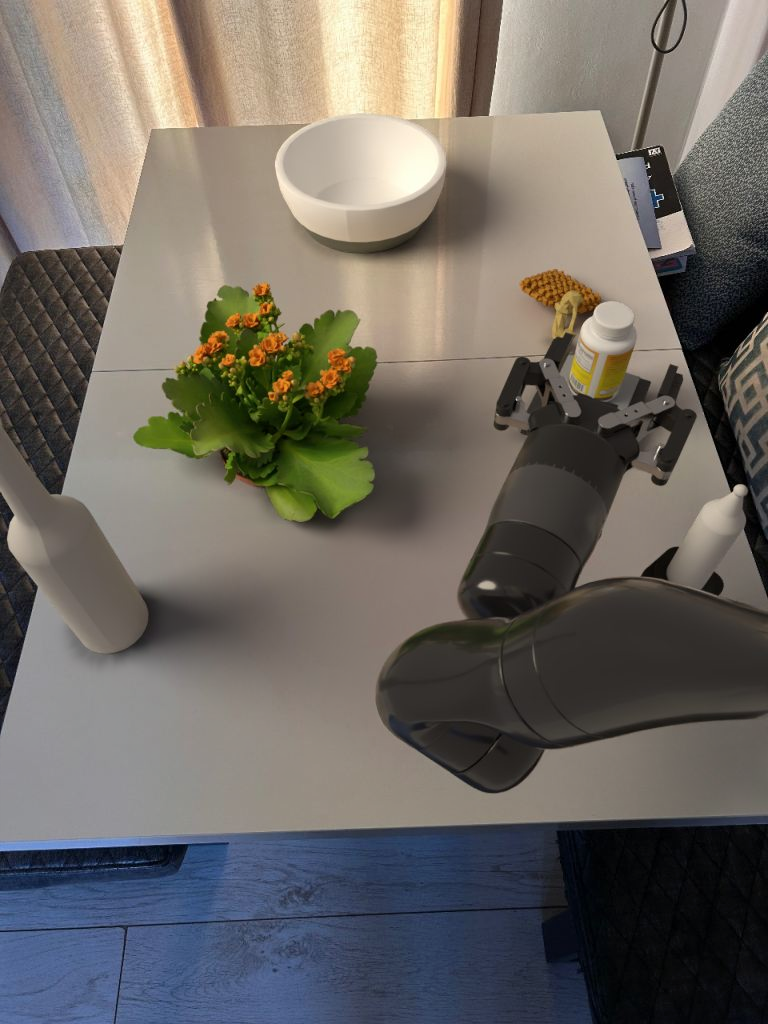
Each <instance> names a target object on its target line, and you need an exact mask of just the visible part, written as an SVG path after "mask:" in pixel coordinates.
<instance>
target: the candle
mask: <svg viewBox="0 0 768 1024" xmlns="http://www.w3.org/2000/svg"><path fill="white" fill-rule="evenodd" d="M748 492H749V490H748V487H747V486H746V485H745V484H742V483H741V484H739V483H738V484H736V485H735V486H734V487H733V491H731V492H730V493H729V494H727V495H726V496H724V497H722V498H716V499H712V500H709V501H708V502H706V503H705V504H704V505H703V506H702V507H701V509H700V511H699V513H698V515H697V516H696V517H695V520H694V522H693V523H692V525H691V527H690V528H689V530H688V532H687V533H686V535H685V537H684V539H683V540H682V541H681V543H680V545H679V546H672V547H669V548H668V549H666V550H665V551H664V552H663V553H662V554H661V555H659V556H658V557H657V558H656V559H655V560H654V561H653V562H651V563H650V564H649V565H648V566H647V567H646V568H645V569H644V570H643V571H642V573H641V575H640V577H651V578H657V579H663V580H667V581H670V582H674V583H678V584H682V585H685V586H689V587H693V588H696V589H699V590H703V591H706V592H709V593H712V594H715V595H718V596H721V594H722V593H723V591H724V588H725V583H724V580H723V578H722V576H720V574H719V573H717V572H716V569H717V568H718V567H719V566H720V564H721V563H722V561H723V559H724V558H725V556H726V555H727V553H728V552H729V550H730V549H731V547H732V546H733V545H734V543H735V542H736V541H737V539H738V538H739V537H740V535H741V534H742V532H743V530H744V529H745V527H746V523H747V517H746V513H745V512H744V509H743V507H744V506H743V504H744V497H745V496H747V495H748Z"/></svg>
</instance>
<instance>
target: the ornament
mask: <svg viewBox="0 0 768 1024" xmlns="http://www.w3.org/2000/svg"><path fill="white" fill-rule="evenodd" d="M518 284H519V286H520V290H521V292H523V293H524V294H527V295H528V297H530V298H534V300H535V301H536V302H538V303H540V302H541V303H542V306H544V307H547V306H548V305H549V307H550V309H551V310H553V309H555V310H556V312H555V315H554V320H553V323H552V327H551V334H552V340H553V339H555V338H556V337H557V336H558V337H561V338H563V336H564V334H565V332H567V333H570V334H573V335H574V337H573V340H574V339H575V338H576V336H577V332H576V331H575V330H574V327H575V324H576V322H577V316H578V315H581V314H583V313H587V312H589V311H593V310H595V309H596V307H597V306H598V305H600V304H601V301H602V298H601V296H600V293H599V292H593V289H592V288H591V287H586V284H584V283H582V282H580V283H579V281H578V280H577V279H576V278H573V279H572V275H570V274H565V271H564V270H558V269H557V268H552V269H548V270H546V271H543V272H541V273H537V274H536V275H531V276H528V277H524V279H523V280H520V281H519V283H518ZM570 314H572V315H571V319H570V322H569V326H568V327H567V328H565V326H566V322H567V318H568V315H570Z"/></svg>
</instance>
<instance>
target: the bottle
mask: <svg viewBox="0 0 768 1024" xmlns="http://www.w3.org/2000/svg"><path fill="white" fill-rule="evenodd" d="M3 424H4V423H3V421H2V418H1V417H0V493H1V496H2V497H3V499H4V500H5V502H6V503H7V505H8V506H9V508H10V510H11V512H12V513H13V517H12V519H11V520H10V522H9V526H8V531H7V537H6V541H7V545H8V550H9V551H10V553H11V554H12V555H13V556H14V558H15V559H16V560H17V562H18V563H19V565H21V567H22V568H23V570H24V571H25V572H26V574H27V575H28V576H29V577H30V579H31V580H32V581H33V583H35V586H37V587H38V588H39V590H40V591H41V592H42V594H43V595H44V597H46V599H47V600H48V602H49V603H50V604H51V605H52V607H53V608H54V609H55V610H56V612H57V613H58V614H59V616H60V617H61V618H62V619H63V621H64V622H65V623H66V625H67V626H68V628H70V630H71V631H72V632H73V633H74V635H75V636H76V637H77V638H78V640H80V642H81V644H83V646H84V647H85V648H86V649H88V650H90V651H92V652H94V653H98V654H103V655H104V654H105V655H106V654H108V655H109V654H115V653H119V652H122V651H124V650H126V649H128V648H130V647H131V646H132V645H134V644H135V643H136V642H137V641H138V640H139V639H140V638H141V637H142V636H143V634H144V632H145V631H146V630H147V626H148V623H149V616H150V615H149V613H150V612H149V609H148V606H147V603H146V601H145V600H144V599H143V597H142V594H141V593H140V591H139V590H138V588H137V586H136V585H135V583H134V581H133V579H132V577H131V576H130V574H129V573H128V571H127V570H126V568H125V567H124V564H123V563H122V562H121V560H120V558H119V557H118V555H117V553H116V552H115V550H114V549H113V547H112V545H111V544H110V542H109V540H108V538H107V537H106V536H105V533H104V532H103V531H102V529H101V527H100V526H99V524H98V522H97V521H96V519H95V518H94V515H93V514H92V512H91V511H90V509H88V508H87V507H88V506H86V505H85V504H84V503H83V502H82V501H80V500H79V499H77V498H75V497H73V496H69V495H65V494H58V493H55V494H51V493H50V492H49V491H48V489H46V487H45V485H43V483H42V482H41V481H40V479H39V478H38V477H37V476H36V475H35V473H34V472H33V470H32V469H31V468H30V466H29V464H28V463H27V461H26V460H25V458H24V457H23V455H22V454H21V452H20V451H19V450H18V448H17V447H16V444H14V442H13V441H12V439H11V438H10V436H9V435H8V433H7V432H6V430H5V428H4V427H3Z"/></svg>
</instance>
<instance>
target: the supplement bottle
mask: <svg viewBox="0 0 768 1024" xmlns="http://www.w3.org/2000/svg"><path fill="white" fill-rule="evenodd" d="M635 315H636V314H635V312H634V311H633V309H632V308H631V307H630V306H628V305H627V304H626V303H622V302H620V301H614V300H613V301H612V300H609V301H603V302H600V305H598V306H597V307H596V309H594V311H593V314H592V316H590V317H588V318H587V319H586V320H585V321H584V322H583V324H582V326H581V328H580V331H579V334H578V335H579V336H578V339H577V343H576V347H575V351H574V355H573V356H574V359H573V363H572V367H571V371H570V375H569V380H568V383H569V387H570V390H571V391H572V393H573V394H574V395H578V393H582V394H585V395H588V396H590V397H592V398H594V399H595V400H597V401H604V402H608V401H610V400H612V399H613V398H614V397H615V396H616V395H617V394H618V392H619V390H620V387H621V384H622V382H623V379H624V376H625V373H627V369H628V367H629V364H630V361H631V358H632V354H633V352H634V349H635V346H636V344H637V340H638V339H637V338H638V333H637V329H636V327H635V326H634V323H635V319H636V316H635Z"/></svg>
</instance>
